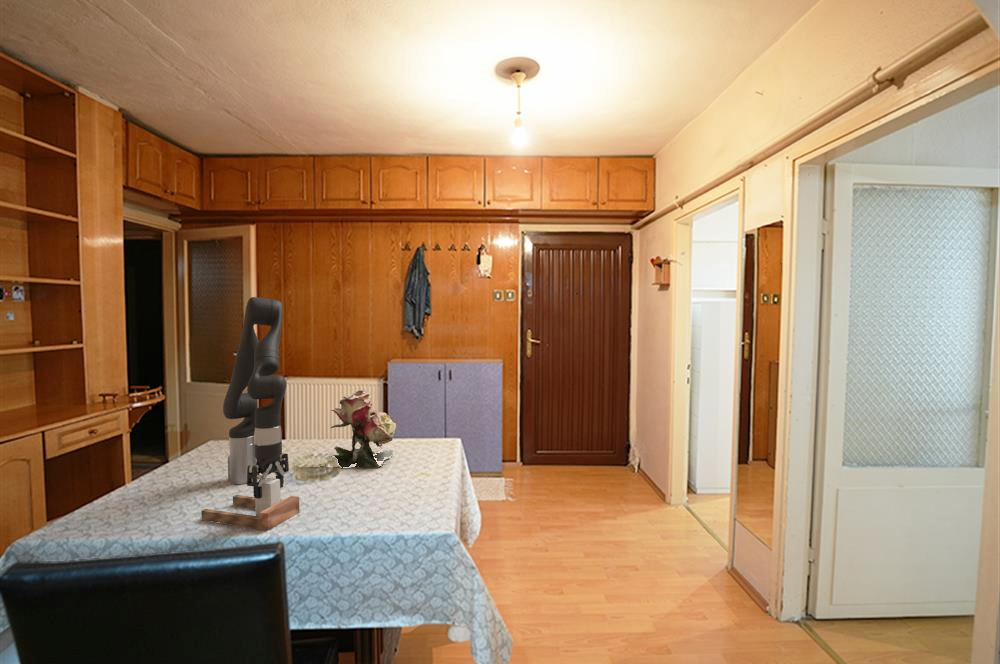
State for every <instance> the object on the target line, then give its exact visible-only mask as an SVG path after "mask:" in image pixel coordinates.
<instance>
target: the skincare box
mask: <svg viewBox="0 0 1000 664" xmlns="http://www.w3.org/2000/svg"><path fill="white" fill-rule="evenodd" d="M257 482H259V479H258V481H257ZM261 486H262V498H260V499H257V498H255V506H256V509H255V516H259V517H260V512H262V511H264V510H265V509H267V508H269V507H271V506H273V505H275V504H277V503H279V502H281V501H282V500H281V488H280V479H276V478H270V477H266V479H264V480H263V483H262V485H261Z"/></svg>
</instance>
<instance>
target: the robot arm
mask: <svg viewBox="0 0 1000 664" xmlns="http://www.w3.org/2000/svg"><path fill="white" fill-rule="evenodd" d="M283 311H284V310H283V305H282V302H281V301H279V300H276V299H272V298H271V299H270V298H267V297H266V298H264V297H257V296H252V297H250V298H249V299H248V301H247V303H246V305H245V311H244V316H243V317H244V318H243V322H242V323H243V324H242V325H243V326H242V331H241V336H240V341H239V344H238V348H237V352H236V355H235V358H234V359H235V360H234V365H233V371H232V375H231V379H230V382H229V386H228V388H227V391H226V395H225V398H224V400H223V406H222V412H223V415H224V417H225V418H226V419H228V420H237V419H243V420H241V422H240V423H238V424H237V425H235V426H233V427H231V428H230V429H229V432H228V438H229V439H228V440H229V441H228V442H229V455H228V456H227V480H228V482H229V481H230V484H232V483H233V484H232V485H242V484H243V485H244V484H246V486H247V487H252V489H253V497H255V498H257V499H260V498H262V486H261V485H262V483H263V480H264V479H266V478H268V477H267V476H269V475H271V474H272V473H273V474H275V475H276V476H275V479H280V489H283V487H284V484H285V482H284V478H285V477H284V476H285V474H286V473H288V472H289V471H290V468H289V467H290V466H289V453H284V452H283V448H282V447H283V440H282V439H283V437H282V436H283V435H282V427H281V426H282V425H281V419H282V418H281V409H282V404H283V400H284V398H285V397H284V396H285V394H286V390H287V381H286V379H285V378H284V376H283V375H281V374H278V375H277V374H276V373H278V371H279V369H280V353H279V351H280V349H279V347H280V340H281V332H282V323H283V313H284V312H283ZM255 325H259V326H267V327H268V326H269V327H270V330H269V331H268V332H267V333H266V334H265V335H264V336H263V337H262V338H261V339H260V340H259V338H258V336H257V334H256V331H255V327H254V326H255ZM244 390H246V392H244ZM271 399H273V400H272V402H270V403H269V404H267V405H262V406H260V407H259V402H258V400H271ZM260 474H261V475H260ZM258 480H259V482H257V481H258Z"/></svg>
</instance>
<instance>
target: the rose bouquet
mask: <svg viewBox="0 0 1000 664" xmlns="http://www.w3.org/2000/svg"><path fill="white" fill-rule="evenodd" d="M370 395H371V393H369V392H367V391H366V390H362V389H359V390H358V391H355V392H353V393H351V394H350V395H349V396H348V397H346V396H345V395H344V396H343V397H342V398H343V399H340V400H339V405H340V407H339V408H337V407H335V408H334V409H331V410H330V412H331V411H332V412H334V413H335V414H336V416H337V417H338V418H339V420H340V421H341V422H342V423H341V424H334V425H332V426H331V427H330V429H333V428H342V427H347V426H351V430H352V437H351V448H352V449H351V450H349V449H346V448H342V447H340V446H338V445H337V446H335V447H334V448H333V449H334V450H335V451H336V452H335V453H336V454H333V455H332V456H335V457H336V458H337V459H338V463H339V465H340V466H341V467H342V468H341V469H344V468H343V467H349V466H350V465H351V464H355V463H357V464H356V466H355V467H356V468H363V469H369V468H370V469H371V468H376V467H378V468H381V467H380V466H379V465H378V464H377V462H376V460H375V459H374V457H375V458H377V461H383V459H384V457H389V456H391V455H392V456H393V450H392V449H390V450H387V449H386V450H385V449H384V450H382V451H383V452H380V453H376V454H377V455H375V456H373V454H375V453H373V452H374V451H373V450H372V448H371V446H370V442H372V443H373V444H374V445H376V446H377V448H382V447H383V445H386V444H388V443H390V442H392V441H393V438H394V435H395V433H396V429H397V423H396V422H393V420H392V419H391V416H390V415H388V414H387V413H386V412H383V411H381V410H377V409H372V406H373V403H371V401H372V396H370ZM357 443H358V444H359V445H360V446H359V448H356V444H357ZM384 462H385V461H384ZM384 462H383V463H384Z"/></svg>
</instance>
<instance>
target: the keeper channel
mask: <svg viewBox="0 0 1000 664" xmlns="http://www.w3.org/2000/svg"><path fill="white" fill-rule="evenodd" d="M233 505H236V506H235V507H240V506H243V507H242V508H247V507H249V509H255V508H256V506H255V497H254V496H248V495H241V494H240V495H239V494H236V495H233V496H232V506H233ZM200 512H201V513H200V514H201V521H202V520H206V521H205V522H209V521H213V522H212V523H215V522H220V523H219V524H222V523H226V524H225V525H228V524H231V525H230V526H235V525H237V527H242V526H244V527H243V528H248V527H249V528H248V529H256V530H262V531H268V530H269V531H270V530H272V529H273V527H274V528H275V527H277V526H279V525H280V524H282V523H284V522H285V521H287V520H290V519H291V518H292V517H294V516H295V515H297V514H299V513H300V496H298V495H295V496H294V495H291V496H288V497H286V498H284V499H283V500H281V502H279V503H277V504H275V505H273V506H271V507H269V508H267V509H265V510H264V511H262V512H260V517H259V516H256V515H252V514H246V513H245V514H244V513H238V512H231V511H223V510H218V509H217V510H216V509H211V508H205V509H202V510H201V511H200ZM278 524H279V525H278Z"/></svg>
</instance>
